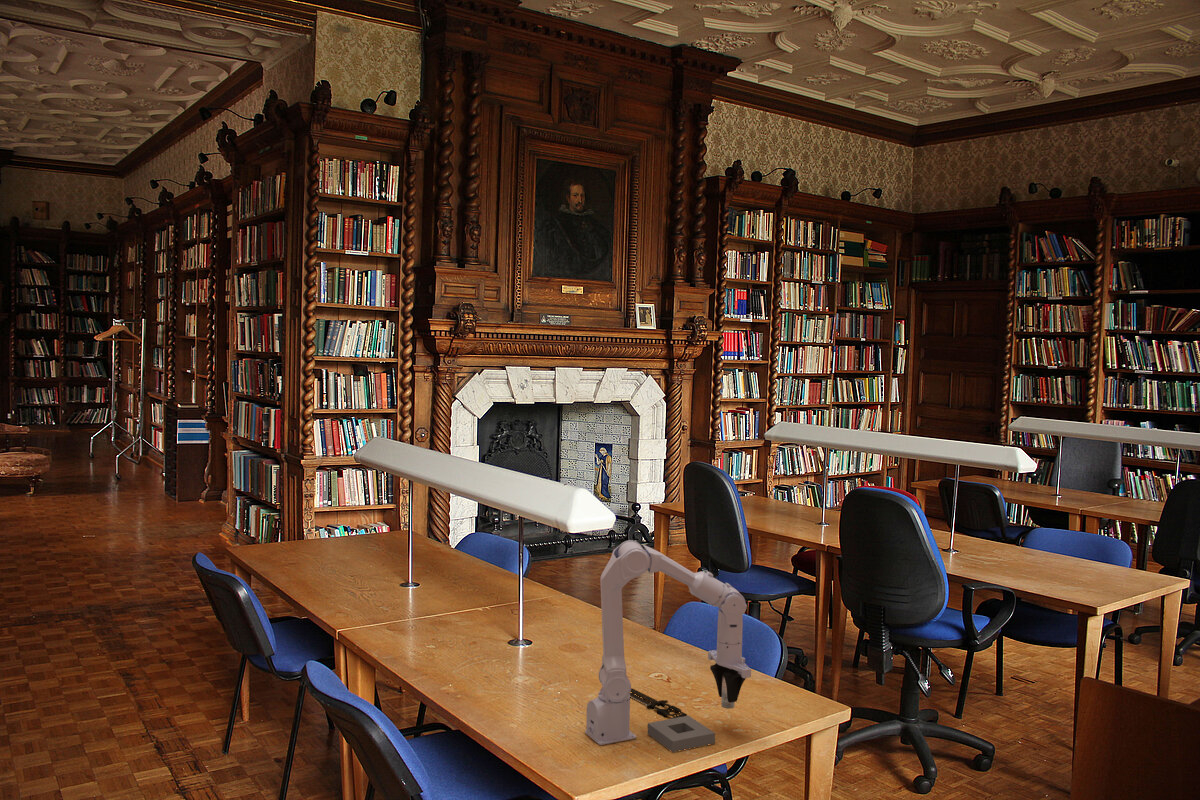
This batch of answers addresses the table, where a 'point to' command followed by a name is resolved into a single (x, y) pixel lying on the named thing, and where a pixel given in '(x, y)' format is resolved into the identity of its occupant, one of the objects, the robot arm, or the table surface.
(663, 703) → the knife
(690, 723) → the socket block
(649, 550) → the robot arm
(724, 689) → the steel pin
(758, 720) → the table surface
